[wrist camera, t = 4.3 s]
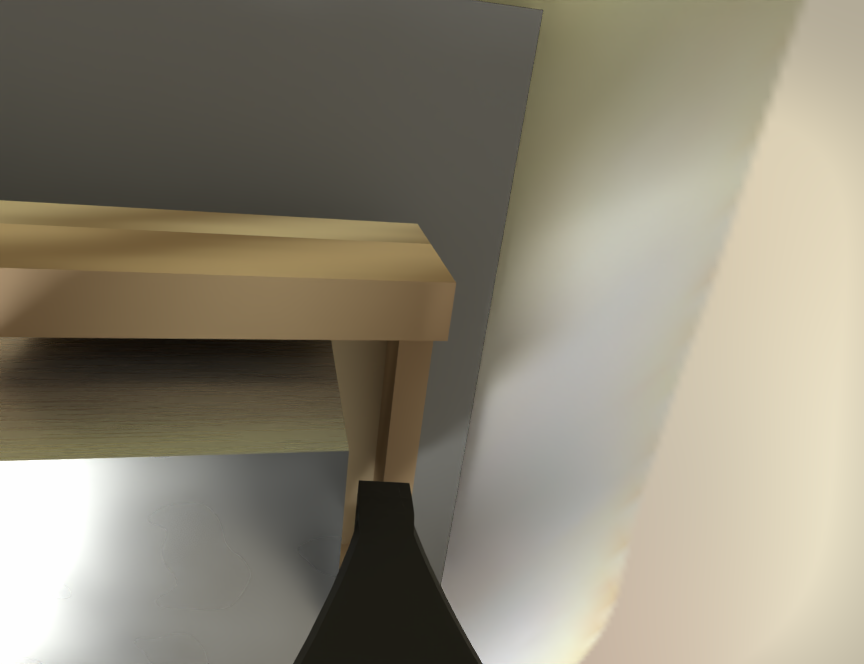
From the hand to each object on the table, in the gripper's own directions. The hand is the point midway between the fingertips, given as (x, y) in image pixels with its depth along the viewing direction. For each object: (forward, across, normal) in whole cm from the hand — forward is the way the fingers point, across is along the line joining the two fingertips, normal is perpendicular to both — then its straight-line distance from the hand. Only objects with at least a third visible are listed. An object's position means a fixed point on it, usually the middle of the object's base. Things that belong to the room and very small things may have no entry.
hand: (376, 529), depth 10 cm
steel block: (+2, +4, 0) cm, 4 cm away
